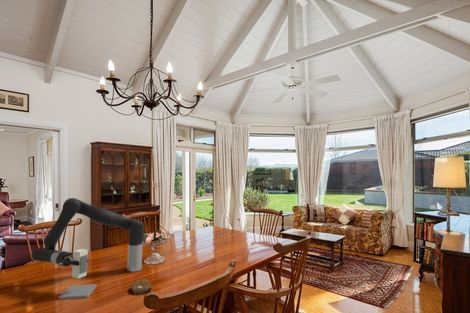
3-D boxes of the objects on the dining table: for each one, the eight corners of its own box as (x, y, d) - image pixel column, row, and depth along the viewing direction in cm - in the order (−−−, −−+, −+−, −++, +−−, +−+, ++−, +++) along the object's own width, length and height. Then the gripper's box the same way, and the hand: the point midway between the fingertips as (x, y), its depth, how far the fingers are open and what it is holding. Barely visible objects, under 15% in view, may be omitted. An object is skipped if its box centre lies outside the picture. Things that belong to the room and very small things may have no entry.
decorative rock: (128, 287, 155) (133, 298, 143) (128, 280, 155) (133, 291, 143) (148, 282, 161) (154, 292, 149) (148, 275, 161) (154, 285, 149)
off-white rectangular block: (79, 273, 150) (81, 248, 151) (86, 275, 148) (88, 250, 149) (71, 277, 145) (73, 251, 146) (78, 278, 144) (80, 252, 144)
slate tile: (70, 287, 152) (70, 285, 152) (96, 286, 155) (96, 284, 155) (58, 299, 138) (58, 296, 139) (87, 297, 141) (87, 295, 141)
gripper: (49, 254, 146) (72, 259, 140) (73, 248, 159) (94, 251, 153) (49, 268, 146) (71, 273, 140) (73, 260, 159) (94, 264, 153)
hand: (83, 262), depth 146 cm, fingers closed on off-white rectangular block, 5 cm apart
